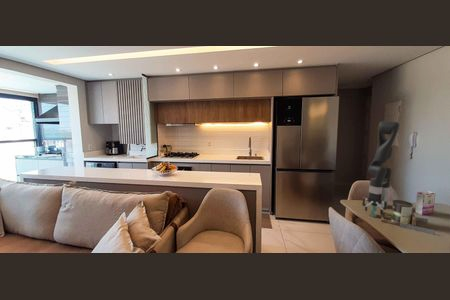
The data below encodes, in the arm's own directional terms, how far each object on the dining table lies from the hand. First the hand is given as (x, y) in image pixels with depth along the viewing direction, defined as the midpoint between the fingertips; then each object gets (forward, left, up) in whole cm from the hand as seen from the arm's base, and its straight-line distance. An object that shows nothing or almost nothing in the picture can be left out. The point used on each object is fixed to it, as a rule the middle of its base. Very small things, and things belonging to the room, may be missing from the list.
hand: (373, 212), depth 142 cm
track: (+22, 0, -3) cm, 22 cm away
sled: (+10, 0, -2) cm, 10 cm away
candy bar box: (+32, +27, -3) cm, 42 cm away
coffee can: (+15, 0, -3) cm, 16 cm away
